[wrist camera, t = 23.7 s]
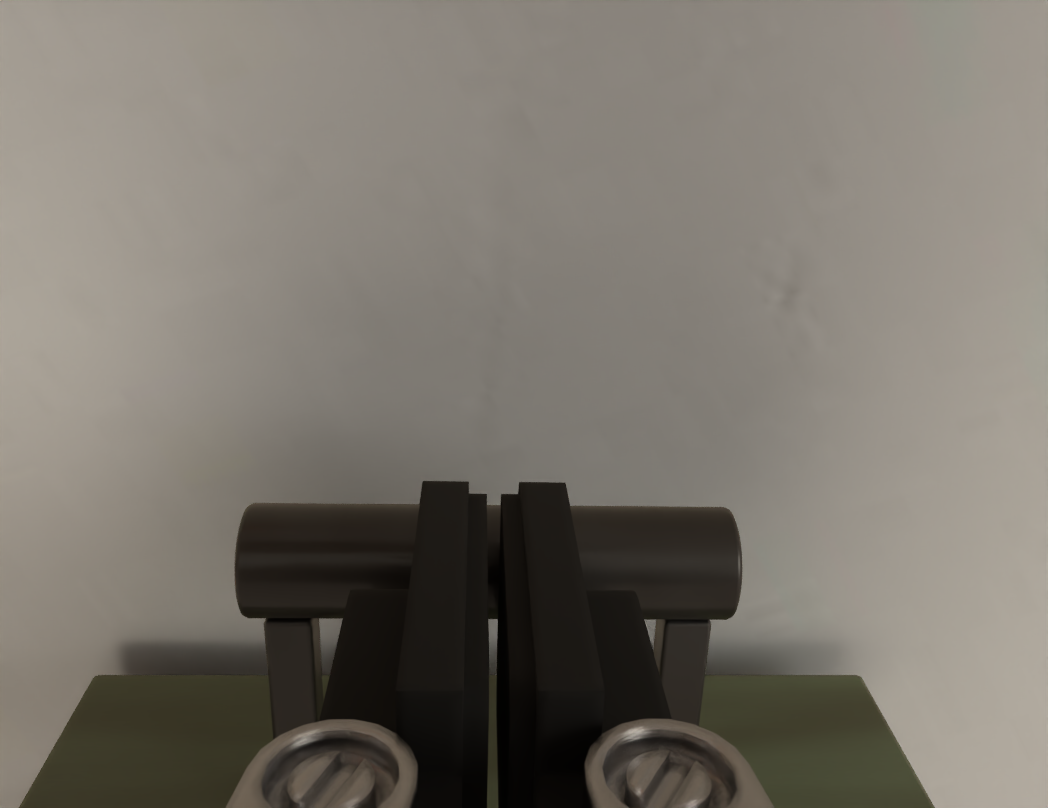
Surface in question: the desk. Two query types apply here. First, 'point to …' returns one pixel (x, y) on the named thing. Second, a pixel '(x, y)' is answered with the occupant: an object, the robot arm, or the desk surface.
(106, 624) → the desk surface
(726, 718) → the drawer
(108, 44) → the desk surface
